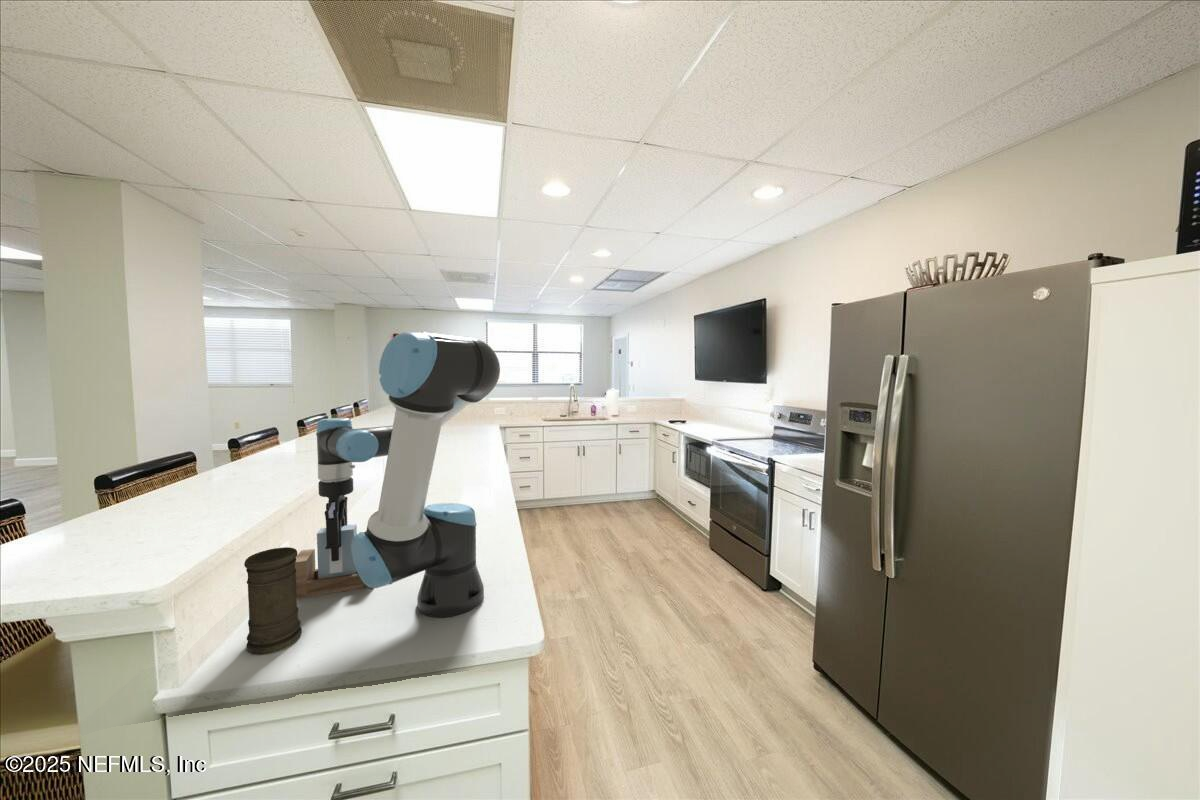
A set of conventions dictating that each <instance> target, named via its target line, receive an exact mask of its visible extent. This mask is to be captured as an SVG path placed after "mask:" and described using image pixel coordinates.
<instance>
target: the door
mask: <svg viewBox="0 0 1200 800" xmlns="http://www.w3.org/2000/svg"><path fill="white" fill-rule="evenodd" d="M357 528H358V526H357V524H355V523H354V524H347V525H345V526H341V546H342V553H343V572H337V573H330V559H329V549H325V547H326V546H327V538H326V527H320V529H319V530H318V531H317V532H316V542H317V543H316V547H317V550H316V551H317V555H316V556H317V569H318V579H323V578H330V577H337V576H344V575H351V574H356V571H357V570H356V568H355V565H354V561H353V557H352V551H351V543H352V539H353V537H354V536H355V535H357V534H358V531H357Z"/></svg>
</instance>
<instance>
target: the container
mask: <svg viewBox="0 0 1200 800" xmlns="http://www.w3.org/2000/svg"><path fill="white" fill-rule="evenodd" d="M298 554H299V553H298V550H297V549H296V548H294V547H291V546H290V547H286V546H284V547H277V548H270V549H267V550H263V551H259V552H256V553H254V554H252V555H250V556H248V557H247V558H246V559H245V560H244V564H243V566H244V568H245V570H246V573H247V580H246V584H247V598H248V622H247V625H248V634H247V637H246V641H247V642H246V645H245V646H246V651H247V652H248V653H249V654H251V655H257V656H258V655H259V656H262V655H268V654H274V653H277V652H280V651H282V650H285V649H286V648H288V647H291V646H292V645H293V644H296V643H297V641H298V640H299V639H300V638H301V636H302V633H303V631H302V626H301V620H300V619H299V607H298V602H297V601H298V598H297V594H296V569H295V563H296V556H297V555H298Z"/></svg>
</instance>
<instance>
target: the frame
mask: <svg viewBox="0 0 1200 800" xmlns="http://www.w3.org/2000/svg"><path fill="white" fill-rule="evenodd" d="M295 569H296V594H297V599H301V598H302V599H303V598H308V597H314V596H322V595H326V594H327V595H328V594H334V593H340V592H346V591H352V590H360V589H367V588H369V587H368V586H367V585H365V584H364V582H363V581H362V580H361V578H360V576H359V574H358V572H357V571H356V574H351V575H344V576H337V577H330V578H323V579H318V568H316V549H315V548H311V549H301V550H300V551H299V553H298V554H297V556H296V563H295Z"/></svg>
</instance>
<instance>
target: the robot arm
mask: <svg viewBox="0 0 1200 800" xmlns="http://www.w3.org/2000/svg"><path fill="white" fill-rule="evenodd" d="M500 373H501V367H500V362H499V357H498V356H497V353H496V352H495V350H494V349H493V348H492V347H491V346H490V345H489V344H487V343H486V342H485V341H483V340H480V339H479V338H475V337H470V336H456V335H448V334H440V333H430V332H426V331H420V332H412V331H411V332H410V331H406V332H401V333H399V334H397V335H395V336H394V337H392V338H391V339H390V340H389V341H388V343H387V344H386V346H385V347H384V348H383V352H382V354H381V357H380V360H379V367H378V374H379V375H380V377H379V383H380V386H381V388H382V390H383V392H384V393H385V394H386V395H388V401H389V402H390V404H391V405H392V406H393V407H395V410H394V419H393V423H392V425H388V426H387V425H384V426H383V425H382V426H374V427H362V428H354V427H353V425H352V420H351V419H350V418H348V417H334V418H333V417H329V418H322V419H319V420H318V421H317V423H316V432H315V435H316V444H317V446H316V449H317V479H318V480H319V482H318V495H319V497H322V498H328V501H327V503H326V504H325V511H324V516H325V528H326V538H327V546H326V547H325V549H329V559H330V573H337V572H343V553H342V546H341V526H345V525H348V499H349V498H348V495H349V494H352V493H353V492H354V478H353V477H352V476H353V474H354V472H353V469H355V468H356V464H354V463H365V462H368V461H369V460H371V459H374V458H380V457H387V458H386V464H385V469H384V470H385V471H384V475H383V479H382V480H383V481H382V488H381V491H380V492H381V493H380V496H379V497H380V499H379V504H378V510H377V511H375V512H374V513H373V514H371V515H370V517H369V518H368V520H367V524H366V530H365V531H361V532H359V533H357V535H355V536H354V537H353V539H352V543H351V551H352V557H353V561H354V565H355V568H356V570H357V572H358V574H359V576H360V578H361V580H362V581H363V582H364V584H365V585H367V586H368V587H367V588H371V589H379V588H382V587H385V586H388V585H390V586H391V585H393V584H394V583H397V582H399V581H402V580H404V579H406V578H409V577H412V576H414V575H417V574H418V573H421V572H423V571H424V575H423V577H422V580H421V584H420V587H419V590H418V594H417V599H416V600H417V605H416V606H417V609H418V611H419V612H420V613H422V614H423V615H425V616H429V617H435V618H444V617H445V618H446V617H453V616H458V615H461V614H464V613H467V612H469V611H471V610H473V609H475V608H476V607H477V606H478V605H479V604H480V603H481V602H482V601H483V599H484V596H485V593H484V592H485V589H484V588H485V587H484V586H485V585H484V583H483V581H482V578H481V575H480V572H479V569H478V566H477V545H476V544H477V539H476V538H477V534H476V532H477V530H476V529H477V527H476V526H477V522H476V519H477V518H476V512H475V510H474V508H473V507H471V506H470V505H467V504H462V503H457V502H456V503H455V502H440V503H439V502H438V503H432V504H429V505H426V500H427V496H428V492H429V486H430V481H431V477H432V472H433V466H434V463H435V457H436V453H437V447H438V443H439V438H440V432H441V428H442V427H443V426H444V425H445V424H447V422H449V421H450V420H451V419H453V418H454V417H455V416H456V415H457V414H459V413H460V412H461V411H462V410H464V409H465V408H466V407H467V406H468V405H470V404H474V403H476V404H477V403H478V402H480V401H482V400H483V399H484V398H486V397H487V396H488V395H489V394H490V393H492V391H493V390H494V389H495V387H496V386H497V384H498V382H499V379H500ZM346 495H347V496H346ZM425 505H426V506H425Z"/></svg>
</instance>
